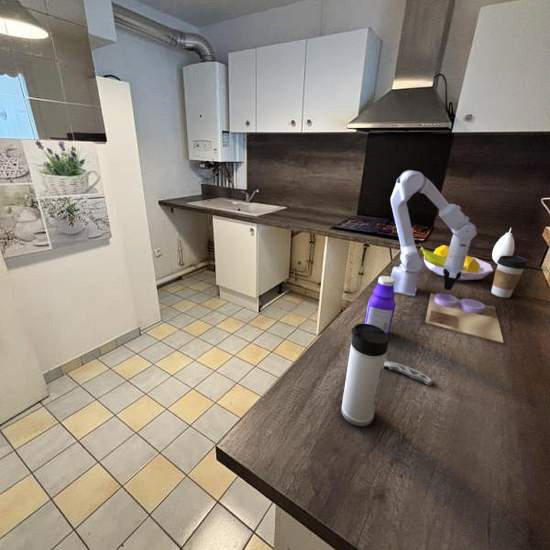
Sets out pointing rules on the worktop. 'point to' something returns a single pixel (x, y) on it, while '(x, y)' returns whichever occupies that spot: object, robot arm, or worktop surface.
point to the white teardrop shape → (503, 247)
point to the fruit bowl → (473, 265)
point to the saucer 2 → (472, 306)
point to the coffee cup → (507, 275)
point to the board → (465, 320)
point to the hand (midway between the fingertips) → (447, 289)
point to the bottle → (382, 304)
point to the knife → (408, 371)
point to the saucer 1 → (446, 300)
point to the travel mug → (364, 373)
